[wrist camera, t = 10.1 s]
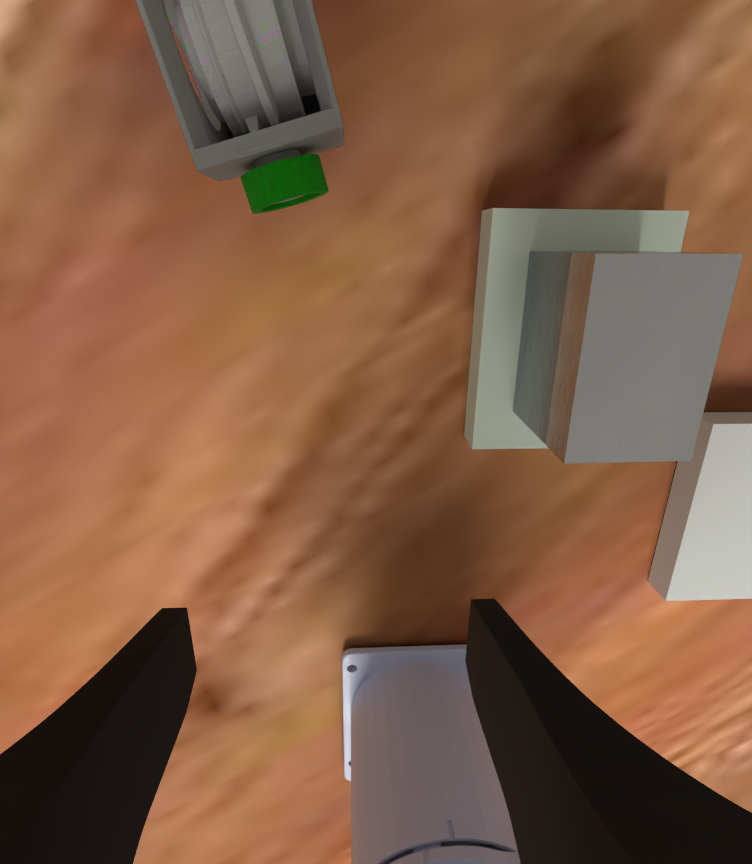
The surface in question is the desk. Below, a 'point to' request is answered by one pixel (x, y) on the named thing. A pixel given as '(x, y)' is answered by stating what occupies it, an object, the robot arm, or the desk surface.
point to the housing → (621, 351)
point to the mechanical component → (250, 92)
